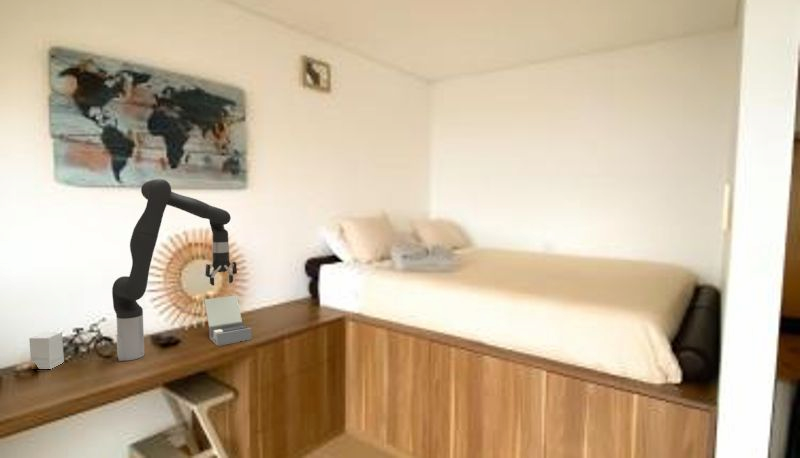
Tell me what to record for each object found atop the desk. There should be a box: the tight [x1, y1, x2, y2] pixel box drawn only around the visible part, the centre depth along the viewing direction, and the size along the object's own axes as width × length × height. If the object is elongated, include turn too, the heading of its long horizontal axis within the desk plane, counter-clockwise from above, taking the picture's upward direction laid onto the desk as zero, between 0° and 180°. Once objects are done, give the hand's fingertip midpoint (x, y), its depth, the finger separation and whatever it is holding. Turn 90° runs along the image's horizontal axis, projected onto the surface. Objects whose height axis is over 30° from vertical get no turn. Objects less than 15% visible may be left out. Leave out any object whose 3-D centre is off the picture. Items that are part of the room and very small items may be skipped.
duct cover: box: [204, 294, 243, 327], centre depth 212 cm, size 15×13×1 cm
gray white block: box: [213, 325, 248, 341], centre depth 204 cm, size 4×14×4 cm, turn 128°
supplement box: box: [28, 331, 65, 370], centre depth 169 cm, size 7×7×13 cm
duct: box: [208, 321, 253, 347], centre depth 204 cm, size 15×13×5 cm
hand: (221, 284), depth 214 cm, fingers open, 8 cm apart
